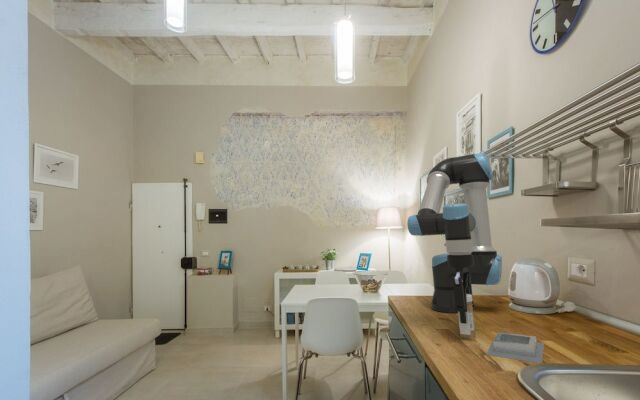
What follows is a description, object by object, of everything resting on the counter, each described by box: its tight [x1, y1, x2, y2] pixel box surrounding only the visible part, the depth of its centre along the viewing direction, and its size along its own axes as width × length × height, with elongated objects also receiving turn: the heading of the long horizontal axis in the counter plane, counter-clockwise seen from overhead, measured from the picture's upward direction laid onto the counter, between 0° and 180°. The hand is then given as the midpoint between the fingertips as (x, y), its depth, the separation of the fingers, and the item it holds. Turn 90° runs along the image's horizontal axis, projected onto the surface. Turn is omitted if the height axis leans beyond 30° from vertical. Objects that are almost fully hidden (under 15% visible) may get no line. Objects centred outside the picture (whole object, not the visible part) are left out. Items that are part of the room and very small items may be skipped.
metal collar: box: [492, 331, 537, 357], centre depth 86 cm, size 9×9×2 cm
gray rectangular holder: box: [485, 341, 545, 365], centre depth 86 cm, size 16×12×1 cm
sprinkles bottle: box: [457, 294, 477, 340], centre depth 99 cm, size 5×5×14 cm
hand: (467, 331), depth 98 cm, fingers closed on sprinkles bottle, 4 cm apart
